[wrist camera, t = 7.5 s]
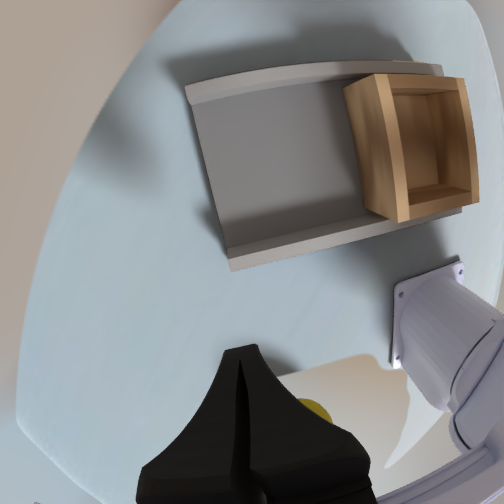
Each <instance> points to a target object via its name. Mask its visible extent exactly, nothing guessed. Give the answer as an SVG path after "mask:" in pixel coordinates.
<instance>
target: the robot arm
mask: <svg viewBox="0 0 504 504" xmlns="http://www.w3.org/2000/svg"><path fill="white" fill-rule="evenodd" d="M459 271H460V272H459ZM463 277H464V262H462V261H457V262H455V263H452V264H450V265H447V266H444V267H442V268H439V269H436V270H433V271H431V272H428V273H425V274H422V275H420V276H417V277H414V278H411V279H408V280H405V281H402V282H399V283H397V285H396V286H395V289H394V331H393V348H392V362H391V366H392V367H393V369H396V368H399V367H401V366H402V367H403V368H404V370H405V371H406V372H407V374H408V375H409V376H410V378H411V379H412V381H413V382H414V383H415V385H416V386H417V387H418V389H419V390H420V391H421V393H422V394H423V396H424V397H425V398H426V400H427V401H428V402H429V403H430V404H431V405H432V406H433V407H435V408H437V409H439V410H442V411H445V412H452V413H453V415H452V416H451V418H450V421H449V432H450V436H451V439H452V442H453V444H454V446H455V448H456V449H457V450H458V452H459V453H460V454H461V456H459V457H458V458H456V459H454V460H453V461H451V462H449V463H448V464H446V465H444V466H442V467H441V468H439V469H437V470H435V471H433V472H432V473H430V474H428V475H426V476H424V477H422V478H420V479H418V480H416V481H414V482H412V483H410V484H408V485H406V486H403V487H401V488H399V489H397V490H394V491H392V492H390V493H387V494H385V495H383V496H380V497H378V498H375V495H374V493H373V490H372V488H371V486H372V483H371V481H370V478H369V476H368V474H369V469H370V463H371V462H370V457H369V455H368V453H367V452H366V450H365V449H364V447H363V446H362V445H361V444H360V442H359V441H358V440H357V439H356V438H355V437H354V436H353V435H352V433H350V432H348V431H346V430H344V429H341V428H340V427H338V426H336V425H334V424H332V423H330V422H329V421H327V420H325V419H324V418H322V417H321V416H319V415H318V414H316V413H315V412H313V411H312V410H311V409H309V408H308V407H306V406H305V405H304V404H303V403H301V402H300V401H299V400H298V399H296V398H295V396H293V395H292V394H291V393H290V392H289V391H288V390H287V389H286V388H285V387H284V386H283V384H281V382H280V381H279V380H278V379H277V377H276V376H275V375H274V374H273V372H272V371H271V370H270V368H269V367H268V365H267V364H266V362H265V361H264V359H263V357H262V355H261V353H260V351H259V348H258V345H256V344H251V345H246V346H242V347H237V348H233V349H228V350H225V352H224V353H223V357H222V360H221V363H220V365H219V368H218V371H217V373H216V376H215V378H214V380H213V382H212V385H211V387H210V389H209V391H208V393H207V395H206V396H205V398H204V400H203V402H202V404H201V405H200V407H199V409H198V410H197V412H196V413H195V415H194V416H193V418H192V419H191V420H190V422H189V423H188V424H187V426H186V427H185V428H184V430H183V431H182V432H181V433H180V434H179V435H178V437H177V438H176V439H175V440H174V441H173V442H172V443H171V444H170V445H169V446H168V447H167V448H166V449H165V450H164V451H162V452H161V453H160V454H159V455H158V456H157V457H155V458H154V459H153V460H151V461H150V462H149V463H148V464H146V465H145V466H144V467H142V470H141V473H140V476H139V480H138V486H137V493H136V502H137V504H489V503H490V502H491V501H493V500H494V499H495V498H496V497H498V496H499V495H500V494H502V493H503V492H504V314H502V313H501V312H499V311H498V310H497V309H495V308H494V307H493V306H491V305H490V304H489V303H487V302H486V301H484V300H483V299H482V298H480V297H479V296H477V295H476V294H474V293H473V292H472V291H470V290H469V289H467V288H466V287H464V286H463ZM401 292H402V293H401ZM400 293H401V295H399V294H400ZM34 504H40V503H36V502H35V503H34Z"/></svg>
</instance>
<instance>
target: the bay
mask: <svg viewBox="0 0 504 504" xmlns="http://www.w3.org/2000/svg"><path fill="white" fill-rule="evenodd" d="M373 74H415V75H432V76H444V73H443V69H442V66H441V65H437V64H427V63H423V62H413V61H395V60H342V61H324V62H311V63H300V64H291V65H283V66H275V67H268V68H262V69H256V70H250V71H244V72H239V73H234V74H229V75H224V76H220V77H215V78H211V79H206V80H202V81H198V82H194V83H191V84H187V86H184V87H185V91H186V96H187V100H188V101H189V103H190V104H191V106H192V111H193V115H194V119H195V123H196V128H197V132H198V136H199V140H200V144H201V148H202V153H203V157H204V161H205V165H206V169H207V173H208V177H209V181H210V185H211V189H212V193H213V197H214V201H215V205H216V208H217V212H218V216H219V220H220V224H221V228H222V232H223V235H224V239H225V243H226V247H227V259H228V263H229V267H230V270H231V272H233V271H238V270H242V269H246V268H250V267H254V266H258V265H262V264H266V263H270V262H274V261H278V260H282V259H286V258H290V257H294V256H298V255H302V254H306V253H310V252H314V251H318V250H322V249H326V248H330V247H334V246H338V245H342V244H346V243H349V242H353V241H357V240H361V239H365V238H369V237H373V236H376V235H380V234H384V233H388V232H392V231H395V230H399V229H403V228H407V227H411V226H414V225H418V224H422V223H425V222H429V221H433V220H437V219H440V218H444V217H448V216H451V215H455V214H458V213H462V207H458V208H454V209H451V210H447V211H443V212H439V213H435V214H431V215H427V216H423V217H420V218H416V219H412V220H408V221H404V222H400V223H397V222H395V221H393V220H391V219H389V218H386V217H384V216H382V215H380V214H378V213H375V212H373V211H371V210H369V209H366V208H364V204H363V197H362V189H361V182H360V176H359V169H358V163H357V157H356V152H355V146H354V141H353V135H352V130H351V125H350V121H349V116H348V111H347V107H346V102H345V98H344V94H343V90H342V88H344V87H346V86H349V85H351V84H353V83H355V82H357V81H359V80H361V79H364V78H366V77H368V76H370V75H373Z"/></svg>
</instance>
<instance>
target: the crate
mask: <svg viewBox="0 0 504 504" xmlns="http://www.w3.org/2000/svg"><path fill="white" fill-rule="evenodd" d="M342 90H343V94H344V98H345V102H346V107H347V111H348V116H349V121H350V125H351V130H352V135H353V141H354V146H355V152H356V157H357V163H358V169H359V176H360V182H361V189H362V197H363V204H364V208H366V209H369V210H371V211H373V212H375V213H378V214H380V215H382V216H384V217H386V218H389V219H391V220H393V221H395V222H397V223H400V222H404V221H408V220H412V219H416V218H420V217H423V216H427V215H431V214H435V213H439V212H443V211H447V210H451V209H454V208H458V207H462V206H466V205H470V204H474V203H478V202H479V178H478V164H477V153H476V144H475V136H474V129H473V122H472V116H471V110H470V105H469V100H468V95H467V91H466V86H465V82H464V79H463V78H454V77H444V76H432V75H415V74H373V75H370V76H368V77H366V78H364V79H361V80H359V81H357V82H355V83H353V84H351V85H349V86H346V87H344V88H342Z"/></svg>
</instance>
